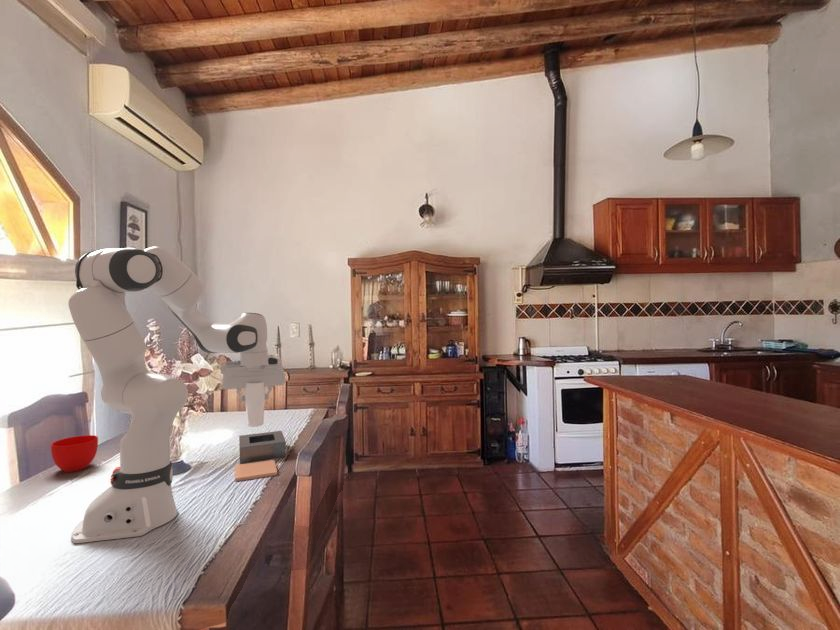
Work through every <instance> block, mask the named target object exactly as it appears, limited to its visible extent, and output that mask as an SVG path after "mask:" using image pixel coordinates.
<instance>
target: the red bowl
mask: <svg viewBox="0 0 840 630" xmlns="http://www.w3.org/2000/svg"><path fill="white" fill-rule="evenodd" d="M98 446H99V436H97V435H93V434H92V435H91V434H89V435H85V434H84V435H76V436H71V437H66V438H62V439H59V440H58V439H57V440H56V441H54V442H52V443H51V445H50V451H51V457H52V460H53V462H54V464H55V466H56V467H58V468H59V469H60V470H61V471H63V472H64V473H73V472H78V471H82V470H84V469H86V468H88V467H89V465H90V464H91V463H92V462H93V460H94V459H95V457H96V454H97V451H98Z"/></svg>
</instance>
